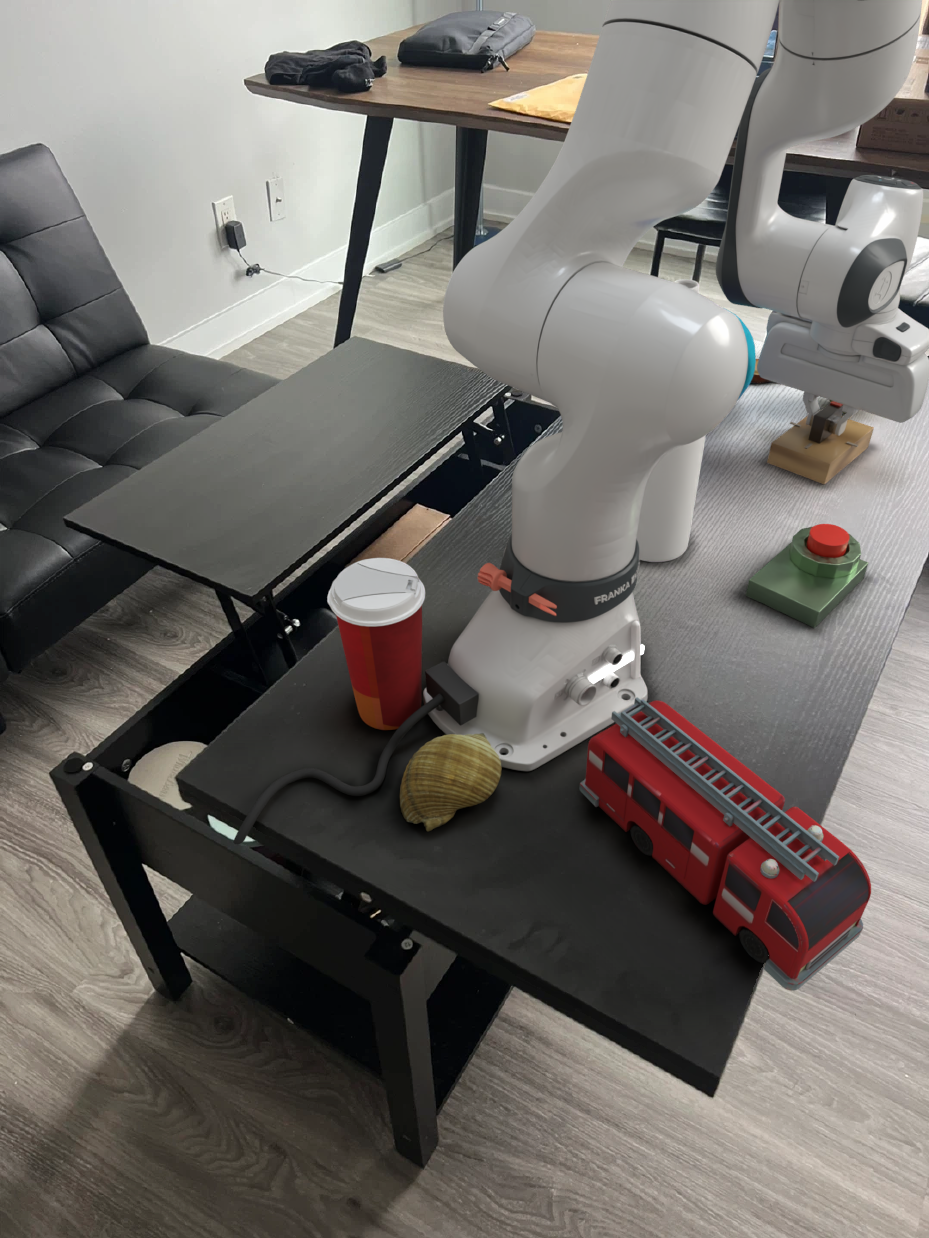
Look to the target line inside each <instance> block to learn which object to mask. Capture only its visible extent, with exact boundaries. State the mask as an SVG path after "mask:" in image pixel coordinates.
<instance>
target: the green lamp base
mask: <svg viewBox="0 0 929 1238" xmlns="http://www.w3.org/2000/svg"><path fill="white" fill-rule="evenodd" d="M812 527H813V526H807V527H803V528H801V529H800V530H798V531H797V532H796V533H795V534H794V535H793V536H792V539H791V542H790V543H789V544H788V545H786V546H785V547H784V548H783V549H782V550H781V551H780V552H778V553H777V554H776V555H775V556H774V557H773V558H771V559H770V560H769V562H767V563H766V564H765V565H763V567H761V569H759V570H758V571H757V572H756V573H755V574H754V575H752V576H751V577H750V578H749V579H748V583H747V586H746V591H745V596H746V597H748V598H751V600H754V601H756V602H758V603H761V604H763V605H765V606H767V607H769V608H771V609H774V610H775V611H778V612H779V613H781V614H783V615H786V616H788V617H790V618H792V619H795V620H797V621H798V622H800V623H803V624H805V625H807V626H809V627H811V628H813V629H815V628H816V627H817V626H818V625H820V623H822V621H823V620H824V619H825V618H827V616H828V615H830V613H832V611H833V610H834V609H835V608H836V607H837V606H838V605H839V604H840V603H841V602H842V601H843V600H844V599H845V598H847V596H848V595H849V594H850V593H851V592H852V591H853V590H854V589H855V588H856V587H857V586H858V585H859V584H860V583H861V582H862V581H863V580H864V578H865V575H866V572H867V569H868V566H869V562H868V561H867V560H866V561H865V560H863V559H861V556H862V549H861V543H860V542H859V541H858V540H857V539H856V538H855V537H853V535H852V534H850V533H848V534H849V542H848V545H847V548H846V552H845V554H844V555H843V556H841V557H837V558H829V557H821V556H819V555H816V554H814V553H812V552H810V551H809V550H808V548H807V540H808V537H809V533H810V530H811V528H812Z"/></svg>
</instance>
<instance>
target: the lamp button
mask: <svg viewBox="0 0 929 1238" xmlns="http://www.w3.org/2000/svg"><path fill="white" fill-rule="evenodd" d="M811 527H812V528H811V530H810V533H809V537H808V540H807V548H808V550H809V551H810V552H812V553H814V554H816V555H819V556H821V557H829V558H837V557H841V556H843V555H844V554H845V552H846V548H847V545H848V542H849V534H850V533H848V531H847V530H846V529H844V528H843V527H841V526H839V525H836V524H831V523H819V524H816V525H813V526H811Z"/></svg>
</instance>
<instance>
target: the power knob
mask: <svg viewBox="0 0 929 1238" xmlns="http://www.w3.org/2000/svg"><path fill="white" fill-rule="evenodd" d="M829 402H830V401H829ZM843 405H844V404H841V403H838V402H835V401H832V402H830V403H828V404H827V405H826V406H824V407H823V408H822V409H820V411H819V412H818V413H816V414H815V415H814V418H813V422H812V426H811V431H810V435H809V439H808V440H811V441H813V442H816V443H819V444H820V443H821V442H822V441H824V440H825V439H826V438H827V437H829V436H830V435H831V434H832V433H830V432H828V428H830V426H829V425H830V421H831V420H832V419H834V418H835V417H836V416H840V417H843V414H844V413H843V411H842V409H843Z"/></svg>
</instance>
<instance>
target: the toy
mask: <svg viewBox="0 0 929 1238" xmlns="http://www.w3.org/2000/svg"><path fill="white" fill-rule="evenodd" d="M634 709H635V710H634ZM629 712H630V713H629ZM611 719H612V720H613V721H614V723H615V724H612V725H611V726H609V727H608V728H606V729H605V730H603V731H599V732H598V733H596V735H595V734H594V735H593V736H591V738H590V739H589V741H588V744H587V755H586V767H585V768H586V769H585V778H584V780H582V781H581V782H580V783H579V792H580V793H581V794H582V795H583V796H584V797H585V798H586V799H587V800H588V801H589V802H590V803H591V804H592V805H593V806H594V807H595V808H597V807H599V809H601V810H602V811H603V812H604V813H605V814H606V815H607V816H608V817H610V819H611V820H612V821H614V822H615V823H616V825H618V826H619V827H620V828H621V829H622V830H623V831H624V832H625V833H628V832H630V837H631V839H632V841H633V843H634V845H635V846H636V847H637V849H638V850H639V851H640V852H641V853H642V854H644V855H646V856H650V857H652V859H654V861H656V862H657V863H658V864H659V865H660V866H661V867H662V868H663V869H664V870H665V871H666V872H667V873H668V874H669V875H671V877H672V878H673V879H675V880H676V881H677V882H678V884H680V885H681V886H682V887H683V888H684V889H685V890H686V891H687V892H688V893H690V894H691V896H693V898H695V900H697V901H698V902H699V903H700V904H701V905H705V906H706V905H709V904H710V903H712V902H713V901H714V900H715V901H714V906H713V910H712V915H713V916H714V917H715V918H716V920H718V921H719V923H721V924H722V925H723V926H724V927H725V928H726V929H727V930H728V931H729V932H730V933H732V935H734V937H736V936H738V938H739V942H740V944H741V946H742V947H743V949H744V951H746V953H747V954H748V956H750V957H751V958H752V959H754V960H755V961H756V962H758V963H760V964H764V967H763V970H764V971H765V972H766V973H767V974H768V975H769V976H770V977H771V978H772V979H773V980H774V981H776V982H777V983H778V984H779V985H780V986H781V987H782V988H783V989H785V990H787V991H791V992H792V991H793V992H795V991H797V990H799V989H801V987H803V986H804V985H805V984H806V983H807V982H809V981H810V980H811V979H812V978H814V976H816V975H817V974H818V973H819V972H820V971H822V970H823V968H824V967H826V966H828V964H829V963H831V961H833V960H834V959H835V958H836V957H837V956H838V955H840V954H841V953H842V952H843V951H844V950H845V949H846V948H848V947H849V946H850V945H851V944H852V943H853V942H854V941H856V940H857V939H858V938H859V937H860V936H861V934H862V931H863V929H864V922H863V920H862V919H861V918H862V916H863V914H864V913H865V911H866V907H867V906H868V903H869V901H870V899H871V895H872V883H871V878H870V876H869V873H868V870H867V869H866V867H865V865H864V864H863V862H862V861H861V860H860V858H859V856H857V855H856V853H855V852H854V851H853V850H852V849H851V848H850V847H848V846H847V845H846V844H845V843H844V842H843V841H841V840H840V839H839V838H837V837H836V836H835V835H834V834H832V833H831V832H830V831H829V830H827V829H826V828H825V827H823V826H822V825H821V824H820V823H818V821H817V820H815V819H814V818H812V817H811V816H809V815H808V813H806V812H804V811H803V810H802V809H800V808H799V807H798V806H791V807H790V808H789V809H787V810H786V811H783V809H784V806H785V802H786V798H785V796H784V795H783V794H782V793H780V791H778V790H777V789H776V788H774V787H773V786H771V784H769V783H768V782H766V781H765V780H764V779H763V778H761V777H760V776H759V775H758V774H756V773H755V772H754V771H752V769H750V768H749V767H747V766H746V765H745V764H744V763H743V762H741V761H740V760H739V759H738V758H736V757H735V756H734V755H732V754H731V753H730V752H729V751H727V750H726V749H724V748H723V747H722V746H721V745H720V744H719V743H717V742H716V741H714V740H713V739H712V738H711V737H710V736H708V735H707V734H705V732H703V731H702V730H700V729H699V728H698V727H697V726H695V725H694V724H693V723H692V722H690V720H688V719H687V718H686V717H684V716H683V715H682V714H680V713H679V712H677V711H676V710H675V708H673V707H672V706H670V705H669V704H668V703H666V702H665V701H662V700H652V701H650V702H646V701H645V700H643V699H642V700H640V699H639V698H638V697H637V698H635V702H634V705H632V706H631V707H629V708H627V709H626V710H624V711H622V712H621V713H619V714H618V713H617V712H615V711H613V712H612V717H611ZM768 955H769V956H768Z"/></svg>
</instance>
